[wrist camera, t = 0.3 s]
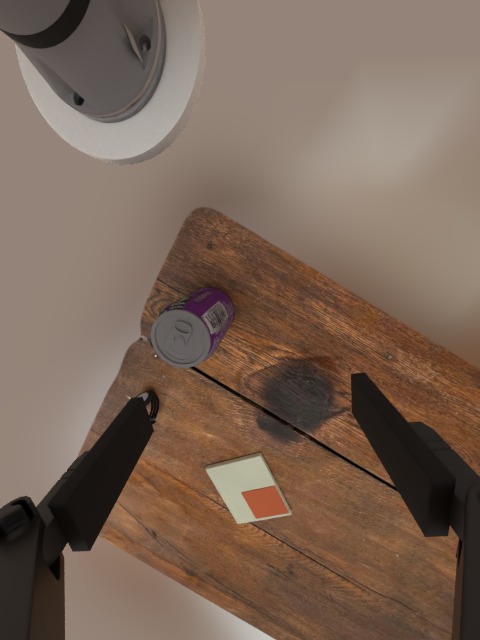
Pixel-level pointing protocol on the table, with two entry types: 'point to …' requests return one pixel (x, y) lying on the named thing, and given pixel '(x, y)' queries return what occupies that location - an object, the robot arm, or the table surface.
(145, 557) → the table surface
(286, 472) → the table surface
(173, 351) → the beverage can
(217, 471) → the mat
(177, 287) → the table surface
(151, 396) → the black strap with disc
